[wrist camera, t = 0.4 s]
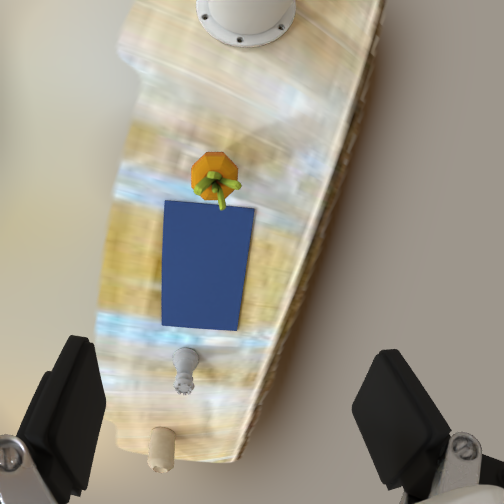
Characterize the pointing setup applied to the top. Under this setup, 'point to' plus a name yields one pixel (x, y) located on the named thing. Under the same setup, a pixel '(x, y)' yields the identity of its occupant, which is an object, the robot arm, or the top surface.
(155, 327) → the top surface
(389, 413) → the robot arm
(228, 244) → the napkin
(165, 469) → the candle
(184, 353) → the rook chess piece
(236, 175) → the carrot
